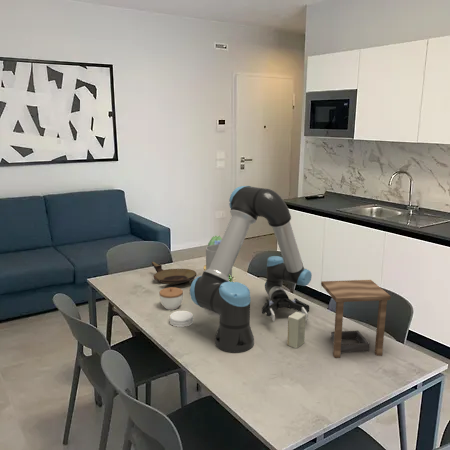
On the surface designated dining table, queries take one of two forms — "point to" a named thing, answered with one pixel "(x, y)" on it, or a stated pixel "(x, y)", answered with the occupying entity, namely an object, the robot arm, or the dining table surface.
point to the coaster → (181, 318)
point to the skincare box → (296, 329)
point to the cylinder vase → (211, 255)
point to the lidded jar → (171, 297)
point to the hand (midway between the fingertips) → (290, 317)
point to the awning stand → (352, 293)
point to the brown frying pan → (173, 275)
